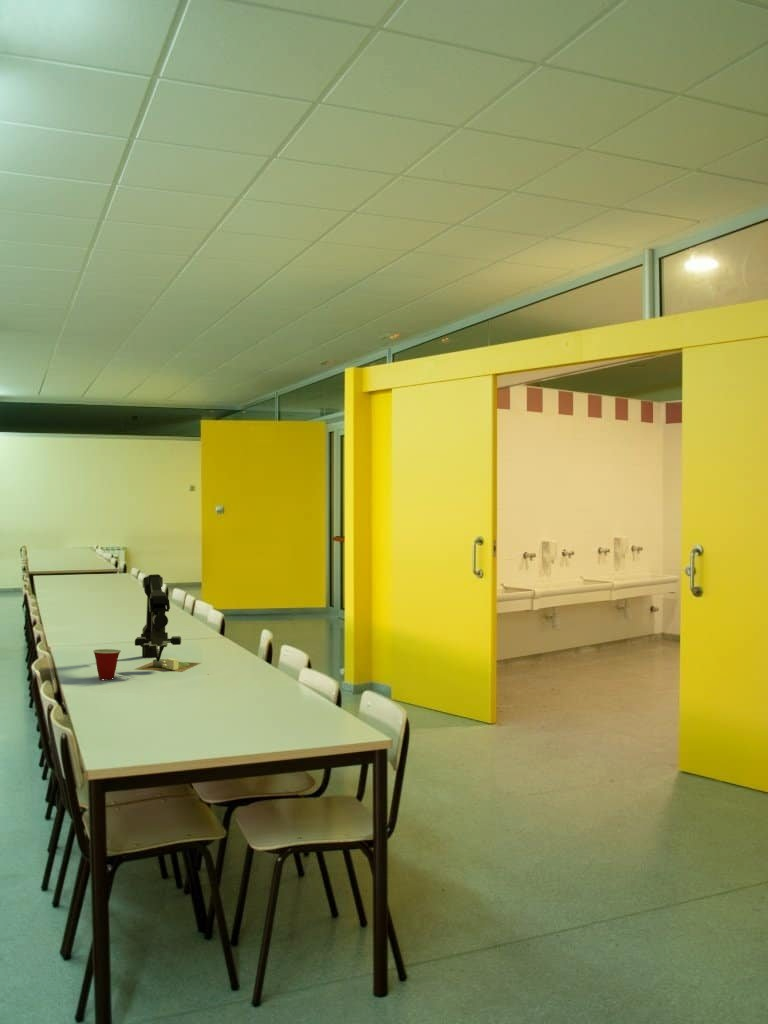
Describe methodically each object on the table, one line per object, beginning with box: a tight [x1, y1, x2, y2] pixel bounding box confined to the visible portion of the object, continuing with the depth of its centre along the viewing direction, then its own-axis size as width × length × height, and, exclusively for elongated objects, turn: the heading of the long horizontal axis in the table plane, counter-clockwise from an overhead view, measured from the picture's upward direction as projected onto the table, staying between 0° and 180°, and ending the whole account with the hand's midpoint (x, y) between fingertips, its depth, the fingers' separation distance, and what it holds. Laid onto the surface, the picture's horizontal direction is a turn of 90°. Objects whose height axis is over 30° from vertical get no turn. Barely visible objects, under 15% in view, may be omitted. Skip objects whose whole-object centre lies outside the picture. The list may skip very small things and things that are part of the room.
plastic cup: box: [93, 648, 122, 681], centre depth 353 cm, size 11×11×12 cm
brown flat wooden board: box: [135, 661, 202, 673], centre depth 374 cm, size 22×20×1 cm
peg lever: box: [152, 657, 179, 670], centre depth 370 cm, size 15×6×4 cm, turn 48°
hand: (158, 661), depth 363 cm, fingers closed
